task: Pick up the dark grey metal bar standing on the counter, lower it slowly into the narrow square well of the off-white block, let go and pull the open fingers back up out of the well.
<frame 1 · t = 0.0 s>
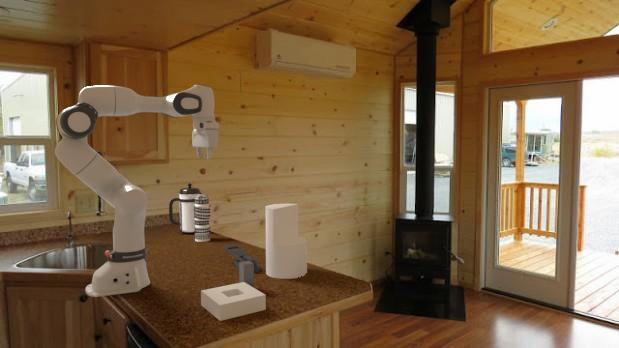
hand: (204, 158, 183), 48 cm above the counter, tool pointing down, fingers open, 8 cm apart
metal bar: (246, 288, 165), on the counter
cylinder: (286, 272, 186), on the counter
well block: (233, 307, 147), on the counter
decorative candle: (202, 240, 246), on the counter
coffee press: (188, 233, 265), on the counter
zipper pull: (242, 266, 196), on the counter
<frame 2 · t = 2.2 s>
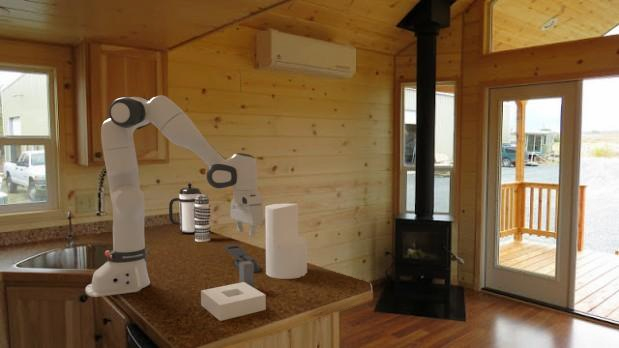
hand: (246, 234, 164), 21 cm above the counter, tool pointing down, fingers open, 8 cm apart
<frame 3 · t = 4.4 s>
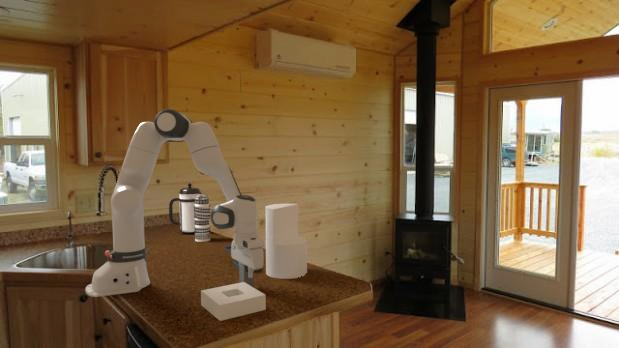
hand: (246, 275, 165), 5 cm above the counter, tool pointing down, fingers closed on metal bar, 4 cm apart
metal bar: (246, 288, 165), on the counter, touching gripper
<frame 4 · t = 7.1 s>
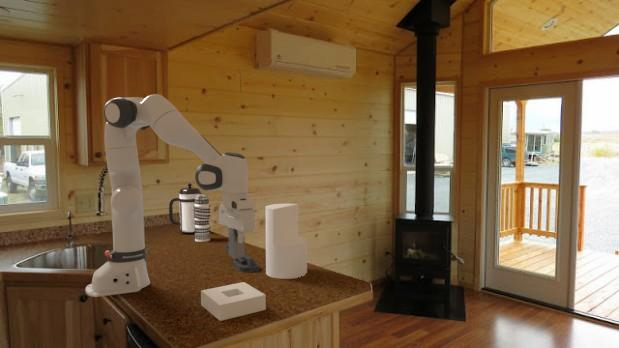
hand: (236, 241, 150), 21 cm above the counter, tool pointing down, fingers closed on metal bar, 4 cm apart
metal bar: (236, 256, 150), point 16 cm above the counter, touching gripper
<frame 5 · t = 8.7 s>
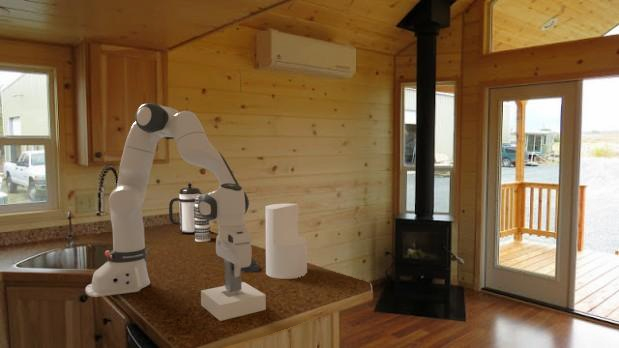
hand: (232, 274, 146), 11 cm above the counter, tool pointing down, fingers closed on metal bar, 4 cm apart
metal bar: (233, 289, 147), point 6 cm above the counter, touching gripper
when the fingers open (7 cm above the counter, at t = 10.1 s): metal bar drops 1 cm, resting in well block.
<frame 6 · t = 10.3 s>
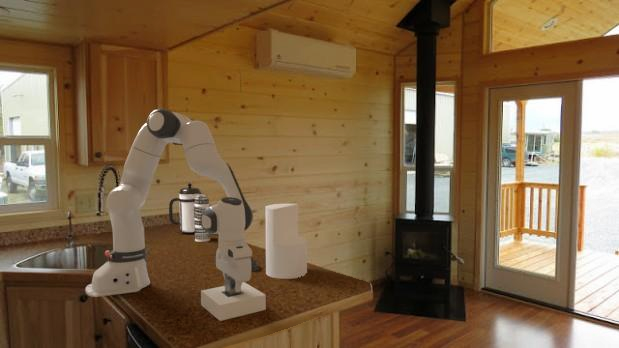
hand: (232, 288, 147), 7 cm above the counter, tool pointing down, fingers open, 6 cm apart
metal bar: (233, 307, 147), resting in well block
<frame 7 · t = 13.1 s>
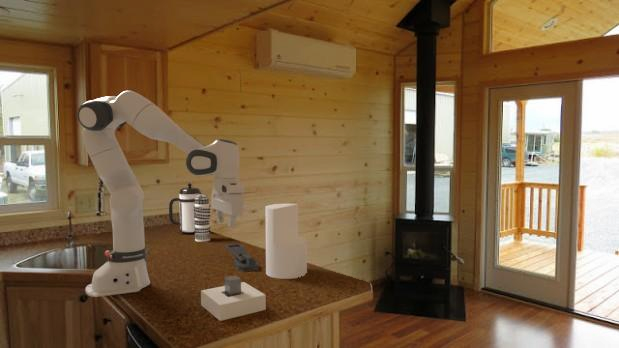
hand: (225, 224, 156), 26 cm above the counter, tool pointing down, fingers open, 8 cm apart
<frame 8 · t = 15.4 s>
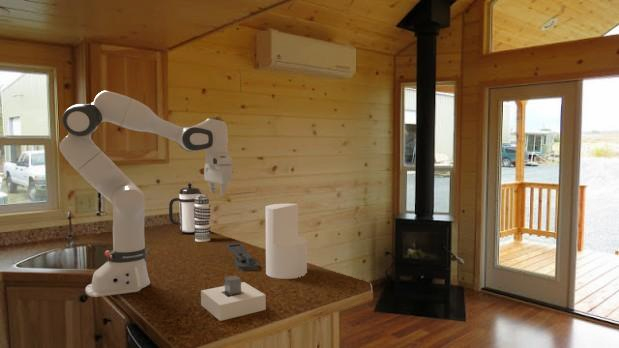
hand: (217, 193, 177), 34 cm above the counter, tool pointing down, fingers open, 8 cm apart
at the end: metal bar 0.1 cm off-centre on the well block, point 0.0 cm above the well block's base; metal bar tilted 0°; the gripper is holding nothing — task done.
